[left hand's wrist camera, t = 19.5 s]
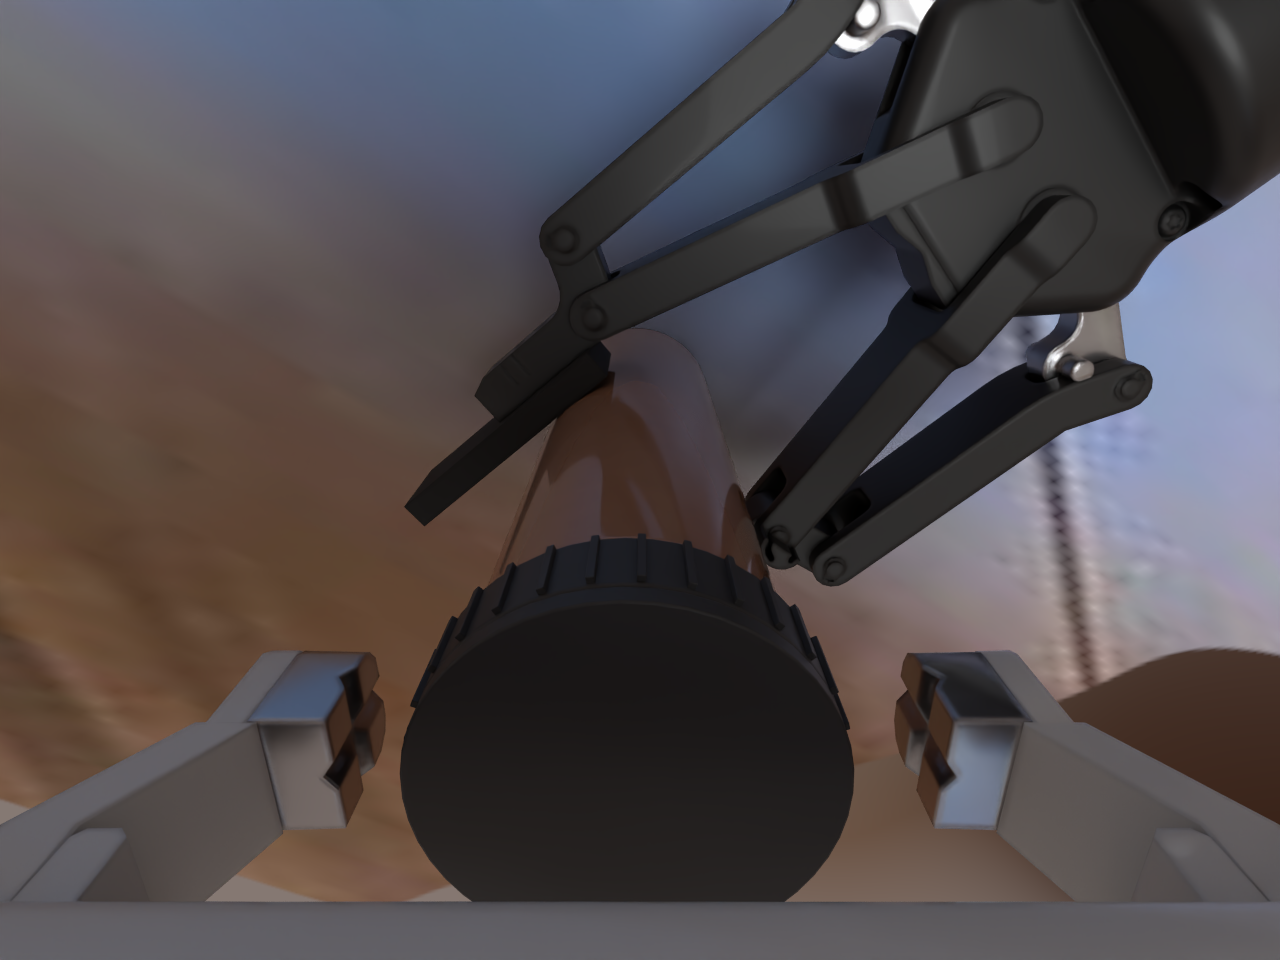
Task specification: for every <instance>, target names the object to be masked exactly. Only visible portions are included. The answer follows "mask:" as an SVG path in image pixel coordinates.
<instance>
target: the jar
mask: <svg viewBox="0 0 1280 960" xmlns="http://www.w3.org/2000/svg"><path fill="white" fill-rule="evenodd" d="M601 342H602V343H603V345H604V346H605V347H606V348H607V349H608V351H609V352H610V353H611V358H610V363H609V369H608V375H607V377H606V378H605V379H604V380H602V381H601V382H600V383H599V384H597V385H596V386H595V387H594V388H593V389H591V390H590V391H589V392H588V393H586V394H585V395H584V396H583V397H582V398H580V399H579V400H578V401H577V402H575V403H574V404H573V405H572V406H571V407H569V408H568V409H567V410H566V411H564V412H563V413H562V414H561V415H560V416H558V417H557V418H556V419H555V420H553V421H552V422H551V424H550V427H549V429H548V432H547V434H546V437H545V440H544V442H543V445H542V447H541V450H540V453H539V455H538V458H537V460H536V463H535V465H534V468H533V471H532V473H531V476H530V478H529V481H528V484H527V486H526V489H525V491H524V494H523V496H522V499H521V502H520V504H519V507H518V509H517V512H516V515H515V517H514V520H513V522H512V525H511V528H510V530H509V533H508V535H507V538H506V540H505V543H504V546H503V548H502V551H501V553H500V556H499V559H498V561H497V564H496V566H495V569H494V571H493V574H492V577H491V579H490V582H489V584H488V586H489V585H490V584H491V583H492V582H493V581H495V580H496V579H497V578H499V577H500V576H502V575H504V572H505V569H506V567H507V565H509V564H510V563H512V562H514V564H515V565H516V566H518V565H520V564H522V563H524V562H526V561H528V560H530V559H533V558H535V557H537V556H539V555H541V554H543V553H545V552H546V548H547V546H550V545H553V544H554V545H555V548H556V549H559V548H562V547H565V546H568V545H572V544H577V543H583V542H588V541H591V536H593V535H599V536H600V540H601V539H615V538H638V533H643V534H646V539H655V540H661V541H667V542H673V543H679V544H683V542H684V540H688V541H691V542H692V547H693V548H697V549H700V550H704V551H707V552H709V553H712V554H714V555H716V556H719V557H721V558H723V559H725V557H726V556H727V554H728V555H730V556H732V557H734V559H735V563H736V565H737V566H739V567H741V568H743V569H744V570H746V571H748V572H749V573H751V574H753V575H754V576H756V577H757V578H758V579H760V580H762V579H763V578H764V577H767V578H768V579H769V580H770V581H771V584H772V587H773V590H774V591H775V589H774V586H773V583H772V580H771V577H770V574H769V571H768V568H767V565H766V562H765V558H764V555H763V552H762V549H761V546H760V543H759V540H758V537H757V534H756V531H755V528H754V525H753V522H752V519H751V516H750V513H749V510H748V507H747V504H746V501H745V498H744V495H743V492H742V489H741V486H740V483H739V480H738V477H737V474H736V471H735V468H734V465H733V462H732V459H731V456H730V453H729V450H728V447H727V444H726V441H725V438H724V435H723V432H722V429H721V426H720V423H719V420H718V417H717V414H716V411H715V408H714V405H713V402H712V399H711V396H710V393H709V390H708V387H707V384H706V381H705V378H704V375H703V373H702V370H701V368H700V366H699V364H698V363H697V361H696V359H695V358H694V357H693V355H692V354H691V353H690V352H689V351H688V350H687V349H686V348H685V347H684V346H683V345H682V344H681V343H679V342H678V341H677V340H675V339H673V338H671V337H670V336H668V335H666V334H663V333H660V332H658V331H654V330H649V329H641V328H634V329H627V330H625V331H622V332H620V333H618V334H616V335H614V336H612V337H609V338H607V339H605V340H601Z"/></svg>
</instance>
